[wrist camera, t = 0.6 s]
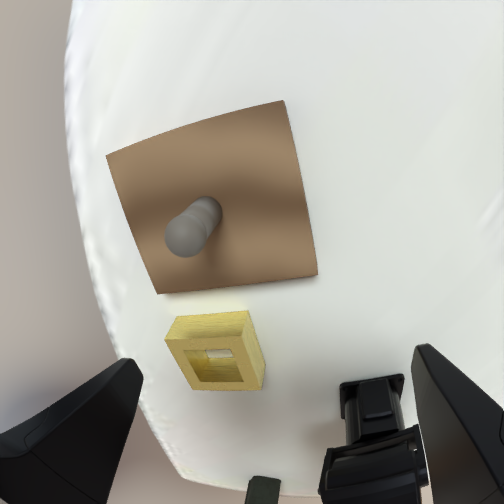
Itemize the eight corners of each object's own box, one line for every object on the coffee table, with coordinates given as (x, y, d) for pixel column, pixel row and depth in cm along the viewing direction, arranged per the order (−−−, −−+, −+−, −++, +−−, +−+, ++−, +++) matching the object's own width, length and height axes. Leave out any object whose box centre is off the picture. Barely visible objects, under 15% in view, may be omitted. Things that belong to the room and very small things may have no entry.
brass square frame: (265, 364, 26) (261, 390, 23) (201, 366, 27) (192, 389, 24) (248, 310, 23) (241, 336, 20) (176, 316, 25) (164, 339, 22)
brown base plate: (316, 263, 20) (321, 323, 15) (164, 283, 23) (128, 335, 18) (284, 101, 16) (276, 94, 10) (117, 151, 19) (57, 172, 13)
